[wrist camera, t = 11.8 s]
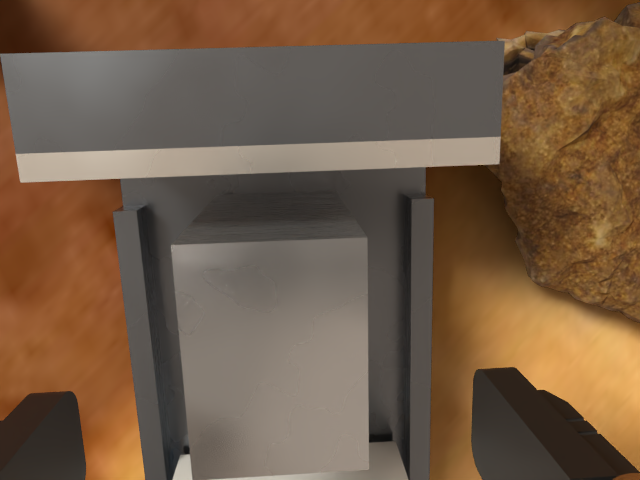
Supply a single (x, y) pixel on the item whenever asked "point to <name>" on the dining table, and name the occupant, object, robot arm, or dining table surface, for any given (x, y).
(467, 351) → the dining table surface
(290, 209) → the steel block
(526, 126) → the decorative rock
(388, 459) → the block
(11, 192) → the dining table surface
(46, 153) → the vise
